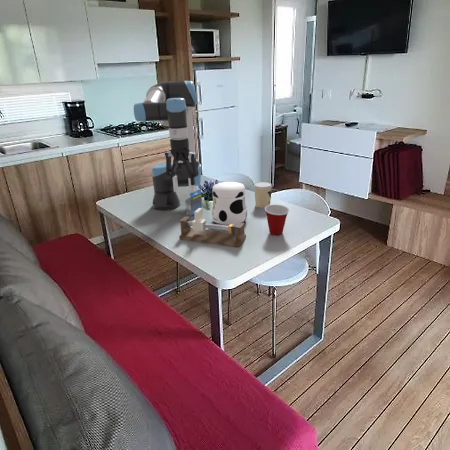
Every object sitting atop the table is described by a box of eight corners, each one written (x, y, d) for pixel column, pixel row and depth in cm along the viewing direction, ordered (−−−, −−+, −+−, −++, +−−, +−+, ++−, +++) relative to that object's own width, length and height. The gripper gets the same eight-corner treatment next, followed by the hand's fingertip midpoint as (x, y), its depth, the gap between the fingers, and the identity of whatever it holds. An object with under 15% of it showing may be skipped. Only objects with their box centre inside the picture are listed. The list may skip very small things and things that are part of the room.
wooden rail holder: (179, 239, 162) (177, 222, 159) (188, 230, 171) (187, 214, 168) (239, 247, 153) (238, 230, 150) (246, 237, 161) (246, 220, 158)
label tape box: (196, 209, 196) (195, 187, 191) (202, 210, 193) (201, 188, 188) (186, 214, 189) (184, 192, 184) (192, 216, 187) (190, 193, 182)
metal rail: (183, 228, 163) (183, 220, 162) (187, 225, 166) (186, 217, 165) (238, 234, 154) (238, 227, 153) (241, 231, 157) (241, 223, 156)
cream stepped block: (192, 230, 161) (190, 211, 157) (196, 225, 165) (195, 207, 162) (202, 231, 159) (201, 212, 156) (207, 227, 164) (205, 208, 160)
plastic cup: (282, 240, 157) (283, 214, 153) (260, 235, 163) (260, 210, 158) (292, 230, 166) (293, 206, 161) (270, 226, 171) (271, 202, 166)
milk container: (207, 218, 183) (205, 184, 176) (238, 212, 189) (237, 179, 182) (220, 231, 168) (218, 194, 161) (253, 224, 174) (253, 188, 167)
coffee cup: (272, 208, 192) (272, 186, 187) (254, 209, 192) (254, 187, 188) (270, 202, 201) (270, 181, 196) (253, 202, 201) (253, 182, 196)
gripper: (153, 139, 148) (159, 192, 158) (197, 140, 142) (201, 196, 151) (162, 135, 155) (167, 187, 164) (204, 137, 148) (208, 190, 157)
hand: (183, 191), depth 158 cm, fingers open, 7 cm apart
